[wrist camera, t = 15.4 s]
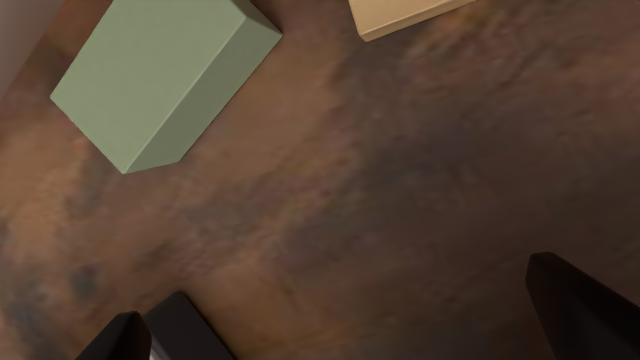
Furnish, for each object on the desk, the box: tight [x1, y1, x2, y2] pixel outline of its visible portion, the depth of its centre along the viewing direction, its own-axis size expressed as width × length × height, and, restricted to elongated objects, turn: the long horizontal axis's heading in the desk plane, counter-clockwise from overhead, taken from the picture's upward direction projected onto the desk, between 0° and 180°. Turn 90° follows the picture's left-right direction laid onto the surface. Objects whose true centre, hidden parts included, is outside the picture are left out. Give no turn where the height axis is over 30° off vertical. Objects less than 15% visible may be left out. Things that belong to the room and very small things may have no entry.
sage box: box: [50, 0, 283, 174], centre depth 20 cm, size 5×9×4 cm, turn 136°
